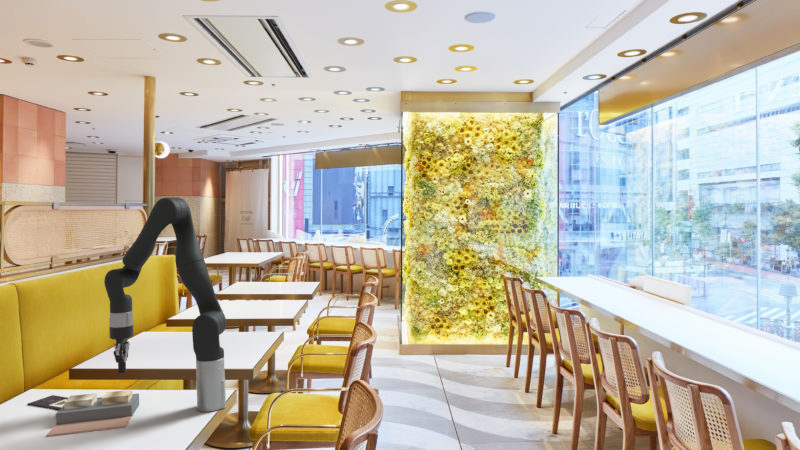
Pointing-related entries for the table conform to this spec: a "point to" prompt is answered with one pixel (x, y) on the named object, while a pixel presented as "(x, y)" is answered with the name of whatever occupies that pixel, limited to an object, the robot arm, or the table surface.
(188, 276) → the robot arm
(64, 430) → the rubber mat
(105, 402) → the oak tile
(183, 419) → the table surface
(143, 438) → the table surface
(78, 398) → the birch tile
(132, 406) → the slate board
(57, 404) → the chocolate bar
